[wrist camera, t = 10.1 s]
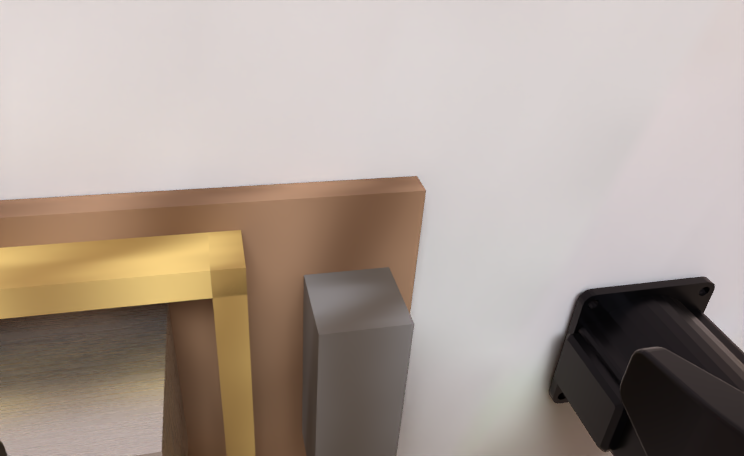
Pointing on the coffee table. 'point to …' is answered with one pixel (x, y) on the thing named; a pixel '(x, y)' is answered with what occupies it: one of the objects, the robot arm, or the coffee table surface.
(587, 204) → the coffee table surface
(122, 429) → the brushed metal block
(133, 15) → the coffee table surface
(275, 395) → the chassis
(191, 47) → the coffee table surface
